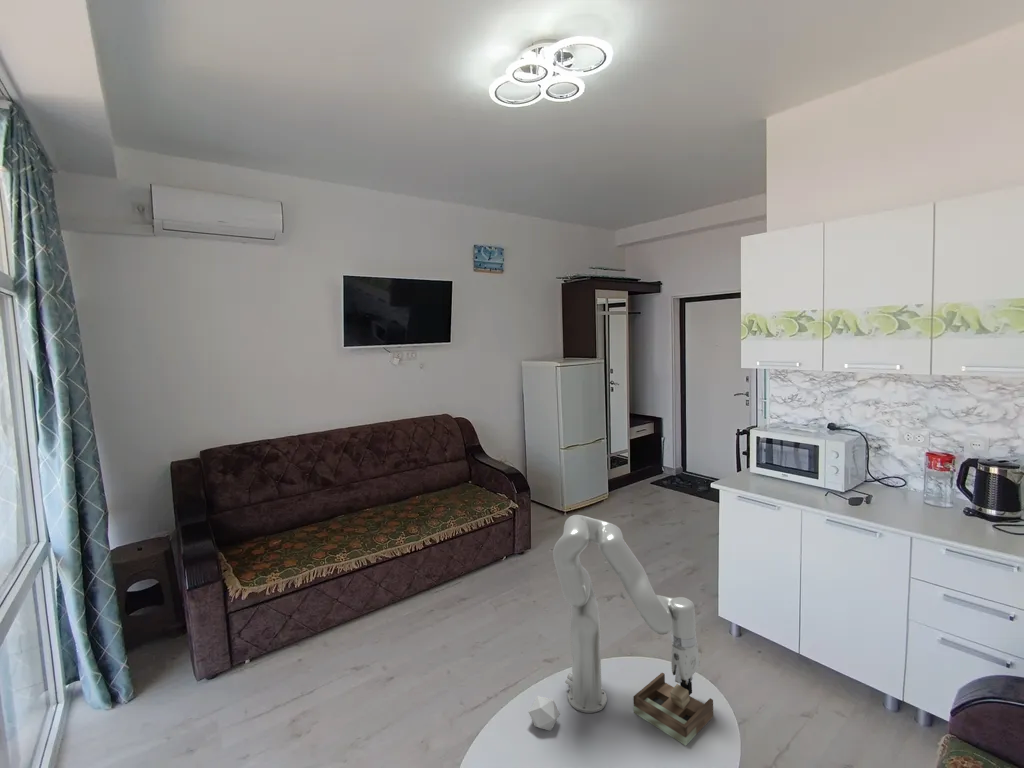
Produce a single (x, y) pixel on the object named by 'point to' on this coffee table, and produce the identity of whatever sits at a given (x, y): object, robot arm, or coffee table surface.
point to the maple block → (680, 696)
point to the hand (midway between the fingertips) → (686, 692)
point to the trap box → (671, 711)
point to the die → (544, 713)
